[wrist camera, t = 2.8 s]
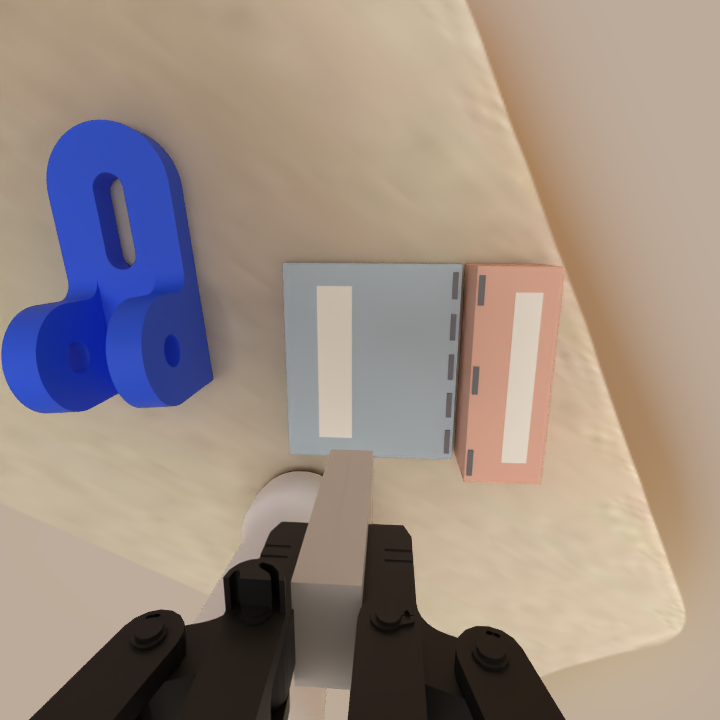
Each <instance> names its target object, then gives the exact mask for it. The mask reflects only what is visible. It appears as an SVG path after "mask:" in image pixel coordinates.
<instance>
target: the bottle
mask: <svg viewBox="0 0 720 720" xmlns="http://www.w3.org/2000/svg"><path fill="white" fill-rule="evenodd" d="M322 477H323V476H321V475H319V474H315V473H311V472H307V471H293V472H289V473H285V474H281V475H279V476H278V477H276V478H274V479H272V480H271V481H270V482H269V483H267V484H266V485H265V486H264V487H263V488H262V489H261V490H260V491H259V492H258V493H257V495H256V497H255V498H254V500H253V502H252V504H251V506H250V508H249V510H248V511H247V513H246V515H245V517H244V522H243V527H242V533H241V538H242V543H241V545H240V547H239V549H238V550H237V552H236V554H235V555H234V557H233V559H232V560H231V562H230V563H229V565H228V567H227V568H226V570H225V572H224V573H223V575H222V577H221V578H220V580H219V582H218V583H217V585H216V587H215V588H214V590H213V592H212V593H211V595H210V596H209V598H208V600H207V602H206V603H205V605H204V606H203V608H202V610H201V612H200V613H199V615H198V616H197V618H196V620H195V621H194V623H193V624H196V623H201V622H205V621H209V620H212V619H216V618H218V617H220V616H222V615H224V613H225V597H224V584H223V577H224V576H225V574H226V573H227V572H228V571H229V569H231V568H233V567H234V566H236V565H237V564H239V563H241V562H244V561H247V560H250V559H259V557H260V554H261V552H262V550H263V547H265V543H266V540H267V538H268V536H269V533H270V532H271V531H272V530H273V529H274V528H275V527H276V526H277V525H278V524H279V523H281V522H304V523H309V520H310V517H311V513H312V510H313V507H314V503H315V500H316V497H317V493H318V490H319V487H320V484H321V480H322ZM326 690H327V688H318V687H303V686H295V684H294V672H293V677H292V681H291V686H290V712H289V716H288V720H324V715H325V703H326Z"/></svg>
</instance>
